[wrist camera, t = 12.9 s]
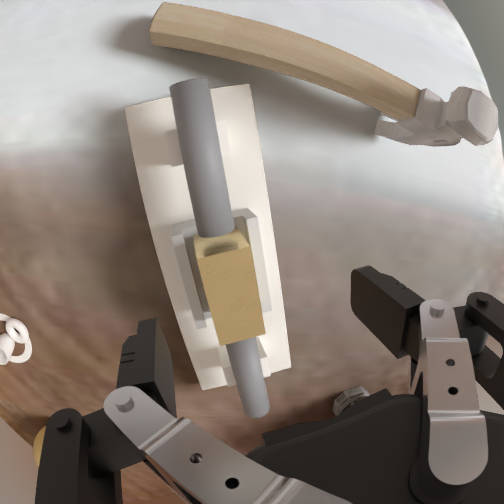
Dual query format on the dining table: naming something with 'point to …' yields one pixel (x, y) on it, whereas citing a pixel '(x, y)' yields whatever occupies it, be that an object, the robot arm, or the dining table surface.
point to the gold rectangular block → (230, 286)
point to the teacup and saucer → (4, 343)
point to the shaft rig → (211, 222)
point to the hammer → (331, 75)
